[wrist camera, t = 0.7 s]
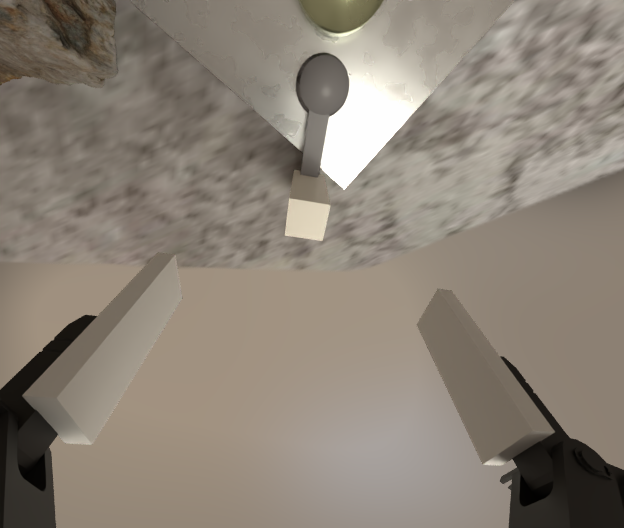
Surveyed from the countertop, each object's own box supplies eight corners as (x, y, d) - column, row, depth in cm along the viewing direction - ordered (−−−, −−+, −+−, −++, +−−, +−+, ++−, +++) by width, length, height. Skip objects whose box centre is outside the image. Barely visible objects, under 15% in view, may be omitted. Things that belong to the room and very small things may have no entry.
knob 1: (303, 53, 21) (302, 32, 14) (350, 63, 21) (372, 48, 14) (286, 198, 28) (280, 234, 21) (322, 204, 28) (327, 241, 21)
